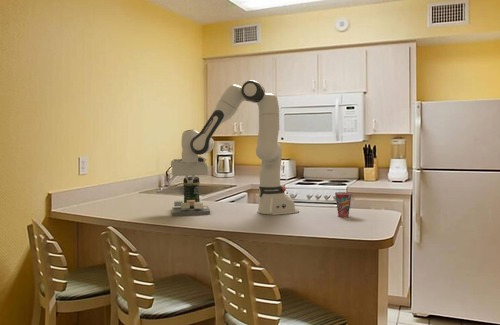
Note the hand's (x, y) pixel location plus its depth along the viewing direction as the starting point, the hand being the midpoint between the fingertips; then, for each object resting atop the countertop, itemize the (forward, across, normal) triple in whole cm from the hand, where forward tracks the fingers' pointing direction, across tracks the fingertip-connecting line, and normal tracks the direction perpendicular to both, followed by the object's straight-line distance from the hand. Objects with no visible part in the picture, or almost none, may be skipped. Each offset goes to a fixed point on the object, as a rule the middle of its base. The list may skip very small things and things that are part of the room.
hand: (190, 183), depth 247 cm
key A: (+12, +4, -9) cm, 16 cm away
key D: (+12, -7, 0) cm, 14 cm away
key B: (+12, -3, -9) cm, 15 cm away
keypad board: (+16, 0, -5) cm, 16 cm away
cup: (+15, +75, -39) cm, 86 cm away
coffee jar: (+16, +1, +11) cm, 20 cm away
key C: (+12, 0, 0) cm, 12 cm away
